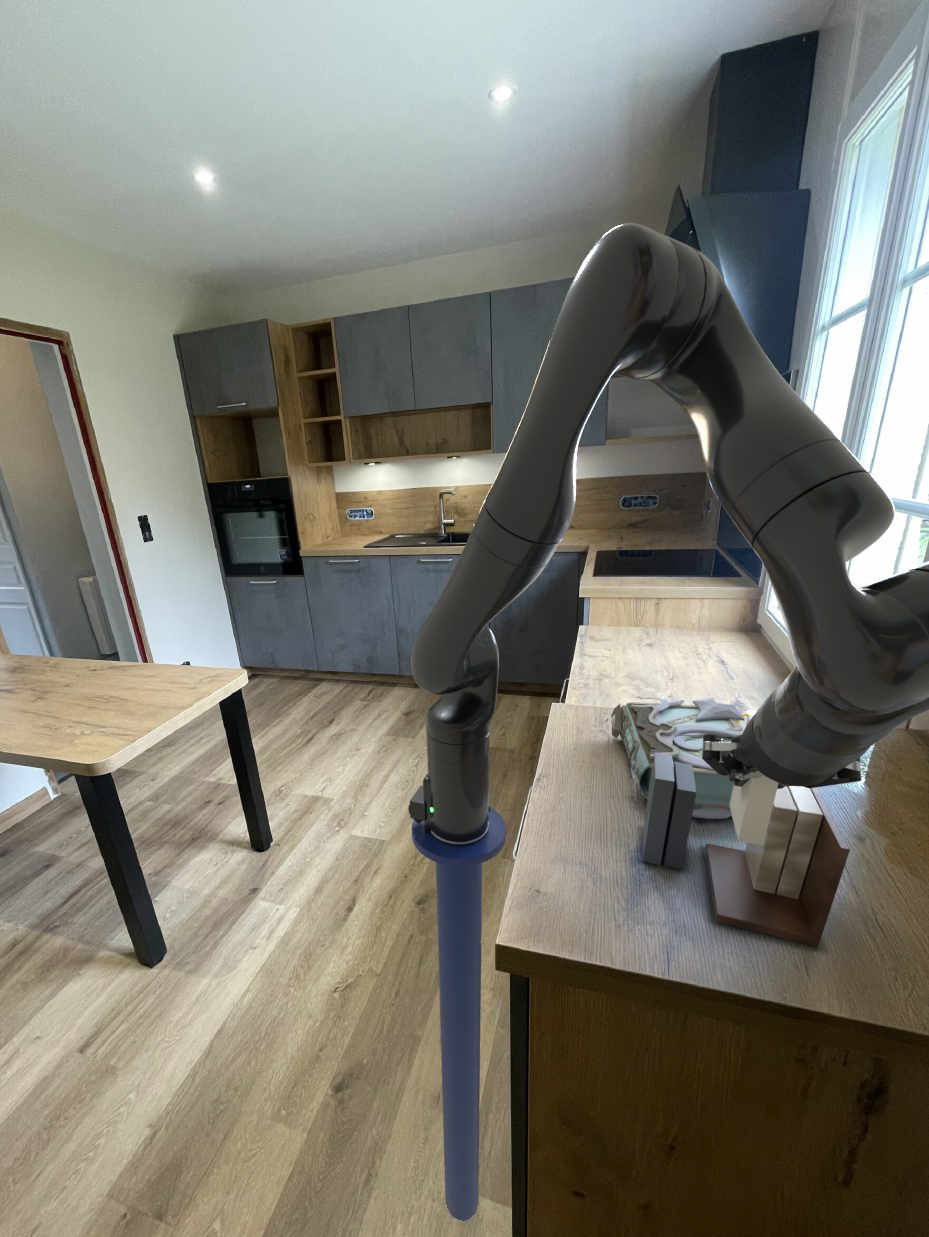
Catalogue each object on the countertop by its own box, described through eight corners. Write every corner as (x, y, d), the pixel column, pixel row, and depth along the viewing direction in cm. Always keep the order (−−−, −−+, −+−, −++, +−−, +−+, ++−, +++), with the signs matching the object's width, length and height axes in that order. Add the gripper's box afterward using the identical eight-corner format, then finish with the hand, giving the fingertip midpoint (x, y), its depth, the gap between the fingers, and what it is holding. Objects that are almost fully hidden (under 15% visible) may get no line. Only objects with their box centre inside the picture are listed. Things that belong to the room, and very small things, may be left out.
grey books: (642, 861, 71) (655, 778, 66) (643, 830, 77) (654, 752, 72) (682, 869, 69) (697, 785, 64) (679, 837, 75) (693, 757, 71)
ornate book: (605, 733, 106) (630, 821, 79) (610, 689, 103) (637, 763, 75) (728, 741, 102) (799, 836, 74) (737, 695, 99) (815, 776, 71)
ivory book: (738, 841, 58) (759, 743, 53) (729, 805, 64) (748, 715, 59) (763, 845, 57) (787, 747, 53) (752, 809, 63) (772, 718, 59)
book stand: (715, 922, 61) (736, 829, 56) (704, 850, 73) (721, 767, 68) (818, 947, 58) (850, 849, 53) (790, 867, 69) (814, 780, 64)
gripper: (907, 698, 43) (826, 757, 58) (714, 680, 48) (686, 739, 63) (916, 789, 40) (829, 826, 55) (711, 760, 45) (682, 801, 60)
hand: (753, 779), depth 59 cm, fingers closed on ivory book, 2 cm apart
